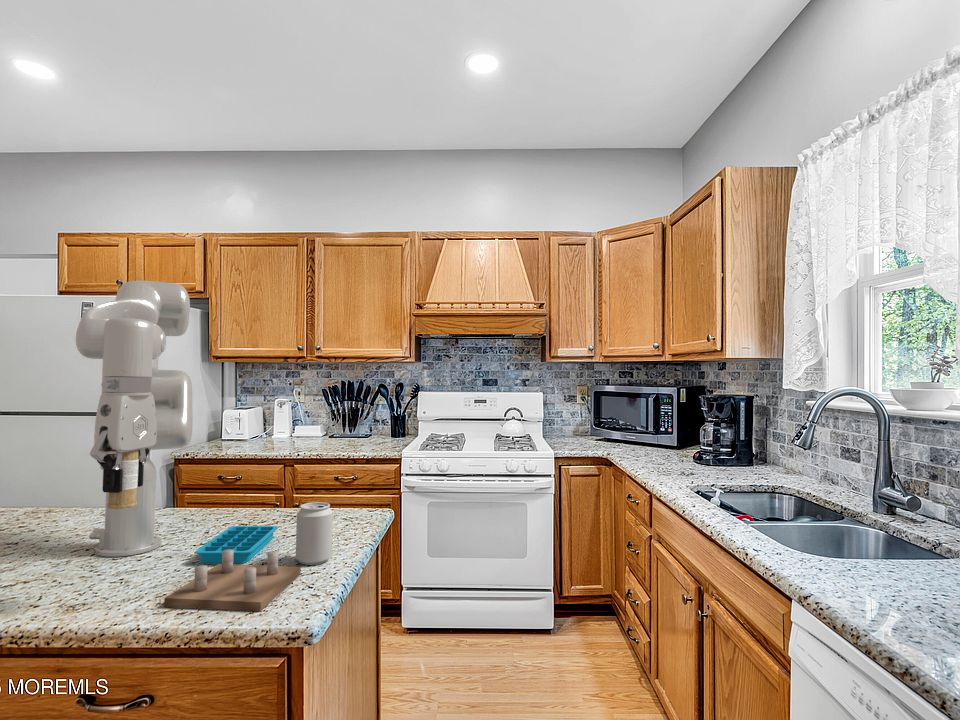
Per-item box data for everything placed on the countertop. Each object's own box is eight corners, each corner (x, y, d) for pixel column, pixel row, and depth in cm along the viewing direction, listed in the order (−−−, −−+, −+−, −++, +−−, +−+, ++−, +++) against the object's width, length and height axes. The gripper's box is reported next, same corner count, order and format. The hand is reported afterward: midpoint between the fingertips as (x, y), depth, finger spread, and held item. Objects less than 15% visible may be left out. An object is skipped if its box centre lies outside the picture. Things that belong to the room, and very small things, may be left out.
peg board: (164, 606, 92) (165, 574, 92) (218, 571, 109) (219, 543, 109) (260, 611, 91) (261, 578, 91) (300, 574, 108) (301, 546, 108)
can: (338, 557, 119) (340, 502, 119) (317, 568, 112) (319, 510, 112) (310, 553, 121) (311, 499, 122) (287, 563, 114) (289, 506, 115)
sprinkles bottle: (103, 507, 96) (106, 431, 97) (133, 502, 100) (135, 429, 100) (111, 511, 93) (114, 433, 94) (141, 507, 97) (144, 431, 97)
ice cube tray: (192, 567, 112) (192, 552, 112) (230, 538, 132) (231, 525, 133) (249, 566, 113) (249, 552, 113) (279, 538, 133) (279, 525, 133)
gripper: (110, 388, 88) (106, 500, 88) (177, 386, 105) (173, 480, 105) (68, 387, 89) (63, 498, 88) (140, 386, 106) (137, 479, 105)
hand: (123, 488), depth 97 cm, fingers closed on sprinkles bottle, 4 cm apart
